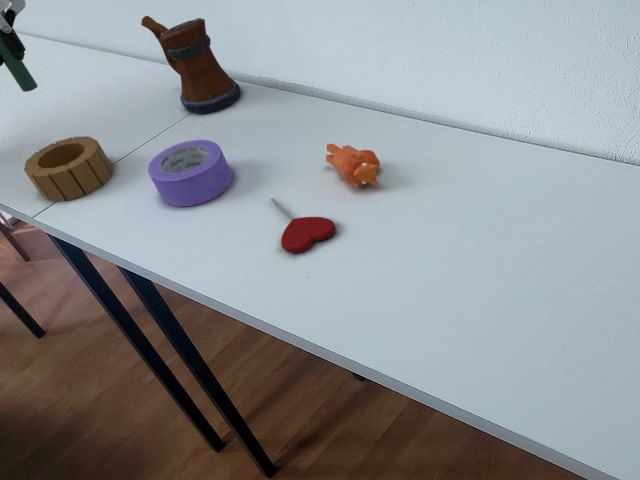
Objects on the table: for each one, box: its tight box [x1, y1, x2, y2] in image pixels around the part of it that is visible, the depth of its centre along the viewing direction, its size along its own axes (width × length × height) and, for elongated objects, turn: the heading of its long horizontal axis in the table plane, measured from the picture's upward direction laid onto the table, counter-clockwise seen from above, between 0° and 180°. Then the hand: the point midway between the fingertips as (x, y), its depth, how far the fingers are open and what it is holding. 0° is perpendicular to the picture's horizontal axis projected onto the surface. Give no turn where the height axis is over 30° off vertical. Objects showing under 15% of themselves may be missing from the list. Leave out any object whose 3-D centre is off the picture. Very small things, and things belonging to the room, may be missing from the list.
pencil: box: [0, 27, 39, 93], centre depth 100 cm, size 2×2×10 cm
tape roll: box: [147, 139, 233, 208], centre depth 103 cm, size 12×12×5 cm
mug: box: [141, 15, 241, 115], centre depth 122 cm, size 18×12×15 cm, turn 53°
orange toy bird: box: [325, 143, 381, 188], centre depth 99 cm, size 5×8×12 cm
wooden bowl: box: [23, 136, 114, 202], centre depth 109 cm, size 12×12×5 cm
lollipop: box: [270, 197, 336, 254], centre depth 94 cm, size 8×1×15 cm
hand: (11, 59), depth 101 cm, fingers closed on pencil, 2 cm apart
